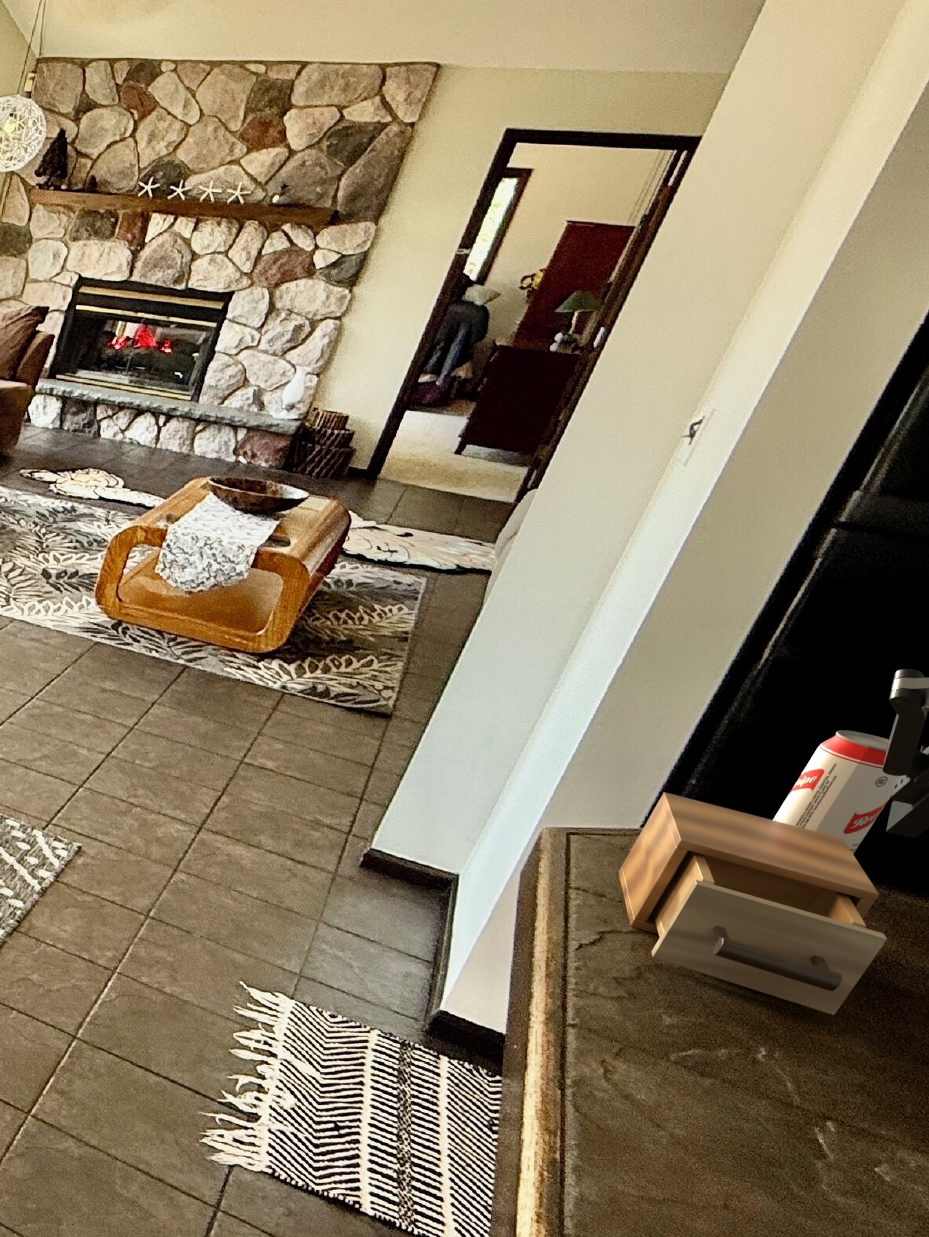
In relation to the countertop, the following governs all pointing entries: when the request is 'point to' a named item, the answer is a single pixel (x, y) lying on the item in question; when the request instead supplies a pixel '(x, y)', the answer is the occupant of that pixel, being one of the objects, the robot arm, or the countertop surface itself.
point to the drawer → (763, 932)
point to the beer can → (841, 788)
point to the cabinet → (733, 854)
